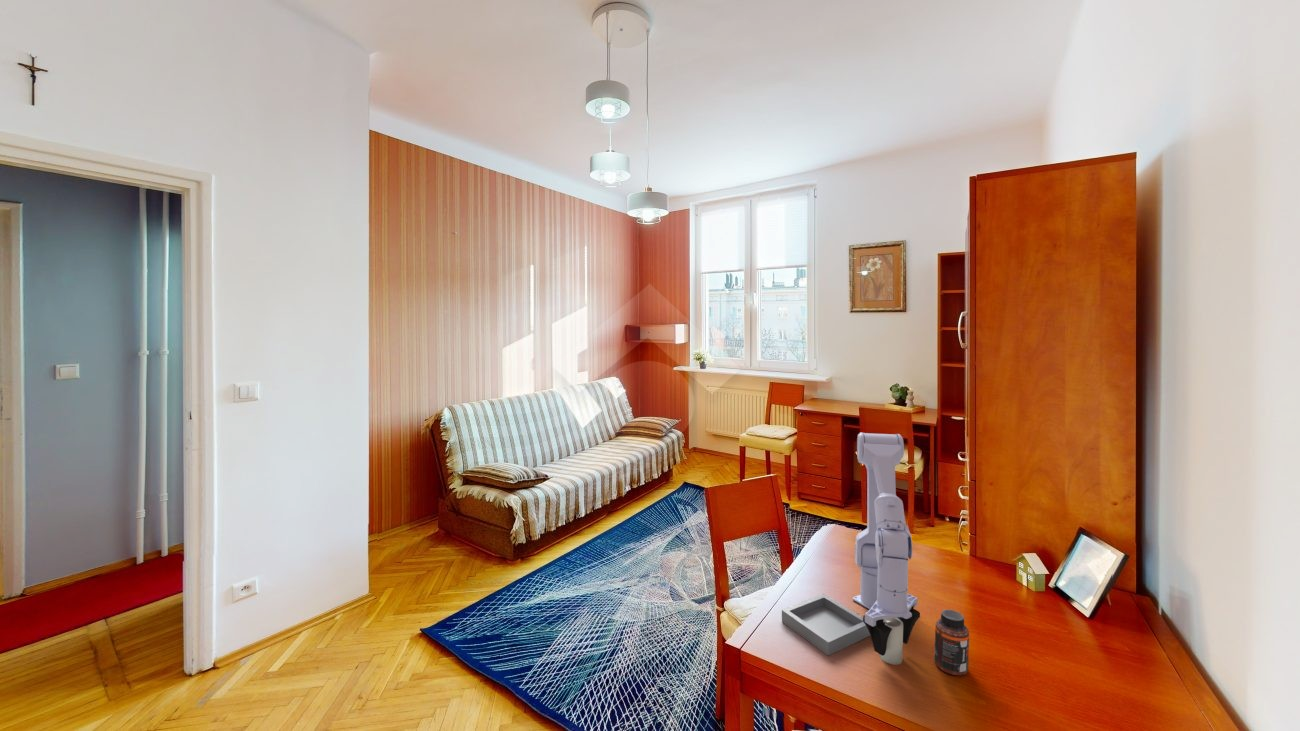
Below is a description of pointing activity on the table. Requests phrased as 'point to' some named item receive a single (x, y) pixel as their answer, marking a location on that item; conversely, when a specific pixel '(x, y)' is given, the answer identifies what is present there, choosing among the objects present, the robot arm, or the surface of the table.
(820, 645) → the tray
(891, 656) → the cup
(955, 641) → the supplement bottle
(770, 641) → the table surface
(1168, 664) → the table surface
